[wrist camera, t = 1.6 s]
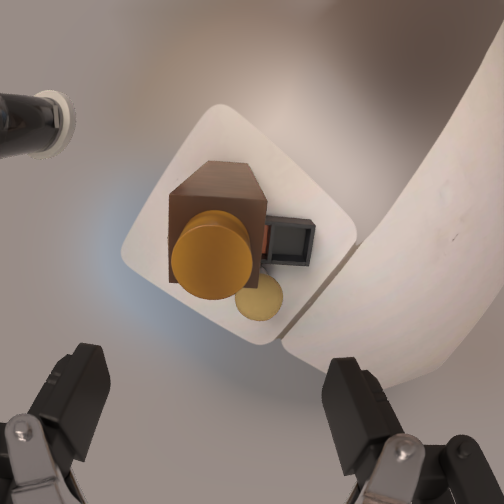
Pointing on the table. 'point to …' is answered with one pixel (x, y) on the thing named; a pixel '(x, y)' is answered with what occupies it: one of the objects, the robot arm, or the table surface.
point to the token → (212, 255)
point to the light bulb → (260, 298)
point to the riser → (220, 205)
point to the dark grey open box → (287, 241)
